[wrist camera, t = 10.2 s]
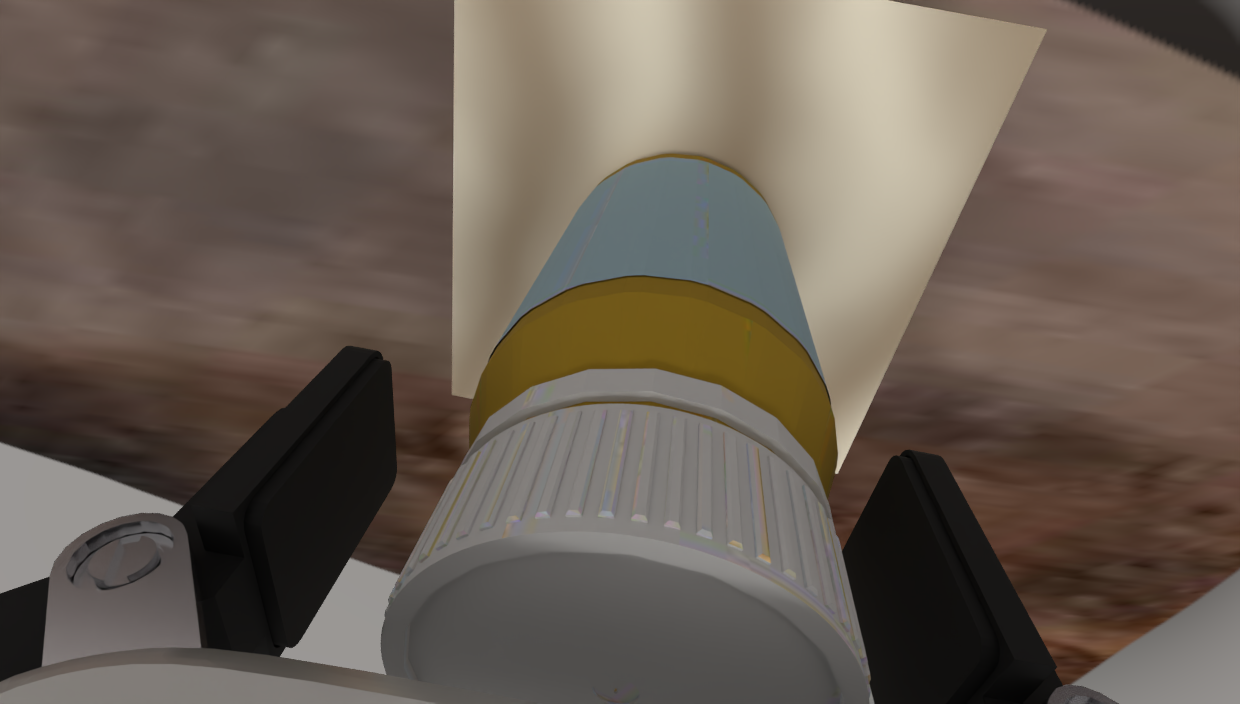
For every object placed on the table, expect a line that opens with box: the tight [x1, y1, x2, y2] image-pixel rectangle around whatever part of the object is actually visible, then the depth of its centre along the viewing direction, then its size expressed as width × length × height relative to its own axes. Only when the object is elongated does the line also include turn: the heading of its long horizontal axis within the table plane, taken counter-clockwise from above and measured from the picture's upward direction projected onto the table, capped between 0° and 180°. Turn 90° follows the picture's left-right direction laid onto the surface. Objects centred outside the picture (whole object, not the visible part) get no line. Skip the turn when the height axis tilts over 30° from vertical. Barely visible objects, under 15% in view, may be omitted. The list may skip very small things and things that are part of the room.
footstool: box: [452, 0, 1047, 474], centre depth 23 cm, size 16×16×8 cm
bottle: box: [381, 153, 871, 704], centre depth 14 cm, size 7×7×15 cm
